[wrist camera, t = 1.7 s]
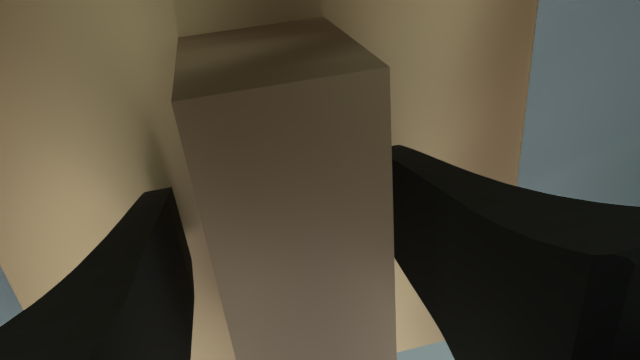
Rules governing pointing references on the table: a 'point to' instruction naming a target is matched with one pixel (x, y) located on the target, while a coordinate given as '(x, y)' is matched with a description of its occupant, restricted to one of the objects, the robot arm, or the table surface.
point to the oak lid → (254, 149)
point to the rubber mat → (427, 352)
